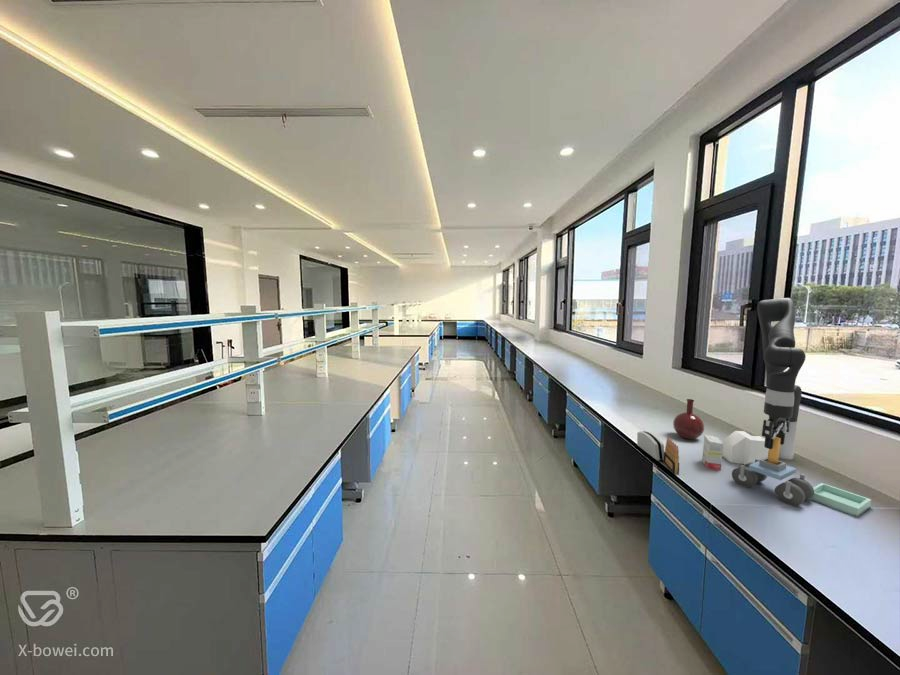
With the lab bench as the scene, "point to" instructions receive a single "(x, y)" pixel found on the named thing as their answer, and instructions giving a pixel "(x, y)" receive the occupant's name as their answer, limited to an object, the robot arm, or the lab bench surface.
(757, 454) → the white faceted lump
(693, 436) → the round-bottom flask
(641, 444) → the white rounded slab
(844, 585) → the lab bench surface
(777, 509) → the lab bench surface
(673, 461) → the ammunition clip
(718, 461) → the ink box
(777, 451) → the pin
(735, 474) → the trolley
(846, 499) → the tray
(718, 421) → the lab bench surface
